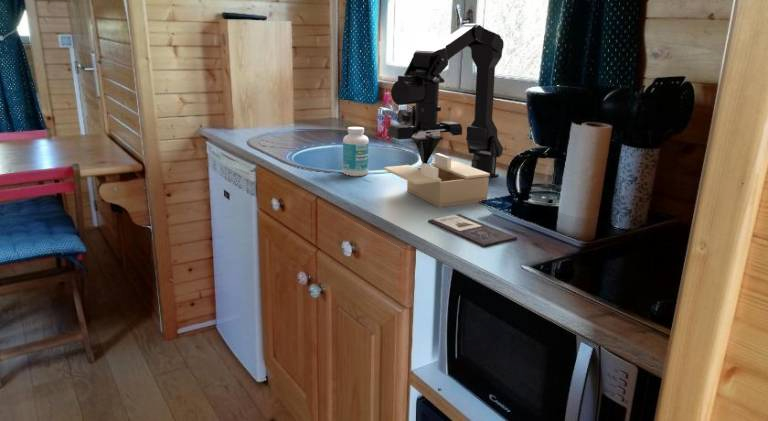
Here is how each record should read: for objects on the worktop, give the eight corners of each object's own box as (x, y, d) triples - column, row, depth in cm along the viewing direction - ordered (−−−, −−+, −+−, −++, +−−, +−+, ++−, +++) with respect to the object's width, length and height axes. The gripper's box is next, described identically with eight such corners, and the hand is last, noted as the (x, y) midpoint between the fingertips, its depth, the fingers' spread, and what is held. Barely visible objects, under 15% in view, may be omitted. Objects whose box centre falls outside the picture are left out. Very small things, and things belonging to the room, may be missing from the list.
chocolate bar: (484, 244, 113) (428, 220, 127) (483, 249, 113) (427, 224, 128) (517, 237, 118) (459, 213, 132) (516, 241, 118) (459, 217, 132)
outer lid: (408, 167, 150) (408, 155, 149) (441, 181, 137) (441, 168, 136) (384, 169, 147) (384, 157, 146) (415, 184, 134) (416, 171, 133)
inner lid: (453, 162, 156) (454, 151, 156) (489, 176, 143) (490, 163, 142) (431, 164, 153) (431, 153, 153) (466, 178, 140) (467, 166, 139)
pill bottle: (358, 178, 164) (358, 130, 160) (337, 174, 168) (337, 128, 163) (373, 173, 170) (373, 127, 166) (352, 169, 174) (352, 124, 170)
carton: (451, 185, 158) (453, 163, 156) (487, 200, 145) (488, 177, 143) (407, 190, 152) (407, 168, 150) (439, 206, 139) (440, 182, 137)
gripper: (441, 97, 154) (438, 154, 159) (378, 99, 146) (377, 160, 151) (465, 102, 145) (461, 162, 149) (399, 105, 137) (397, 169, 141)
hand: (424, 163), depth 148 cm, fingers closed
